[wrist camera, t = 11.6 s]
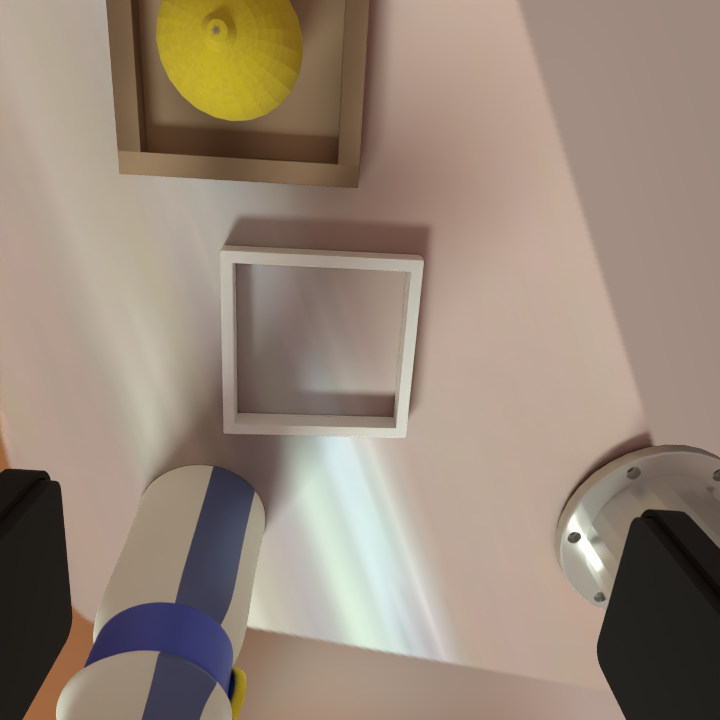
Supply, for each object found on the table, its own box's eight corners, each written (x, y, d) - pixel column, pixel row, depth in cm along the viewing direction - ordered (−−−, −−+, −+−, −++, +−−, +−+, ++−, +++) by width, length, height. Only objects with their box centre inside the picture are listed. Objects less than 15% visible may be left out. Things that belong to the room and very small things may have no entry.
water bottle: (302, 501, 37) (276, 1137, 14) (225, 592, 39) (93, 1272, 16) (185, 433, 35) (-76, 1054, 12) (111, 533, 37) (-234, 1224, 14)
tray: (371, -77, 26) (374, -91, 25) (355, 184, 30) (358, 188, 29) (111, -103, 25) (96, -118, 24) (130, 170, 29) (119, 173, 28)
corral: (419, 254, 32) (424, 260, 31) (402, 426, 36) (405, 438, 34) (223, 245, 31) (219, 250, 30) (227, 421, 35) (223, 433, 33)
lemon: (218, -44, 26) (179, -112, 18) (327, 37, 27) (332, 4, 20) (159, 74, 27) (101, 56, 20) (265, 145, 29) (248, 153, 21)
